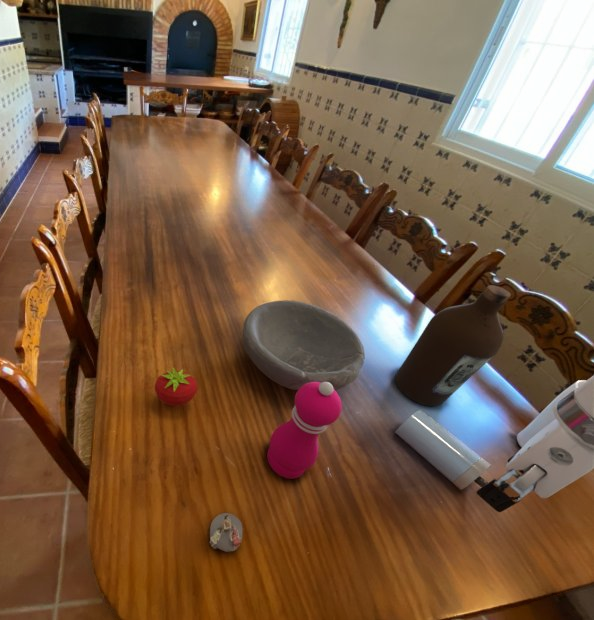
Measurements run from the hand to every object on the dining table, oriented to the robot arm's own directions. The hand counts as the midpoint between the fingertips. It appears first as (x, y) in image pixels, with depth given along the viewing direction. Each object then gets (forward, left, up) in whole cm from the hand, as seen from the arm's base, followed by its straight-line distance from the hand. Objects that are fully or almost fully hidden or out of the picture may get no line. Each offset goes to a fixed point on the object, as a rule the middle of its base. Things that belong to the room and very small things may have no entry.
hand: (503, 484), depth 53 cm
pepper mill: (+20, +23, -5) cm, 31 cm away
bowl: (+35, +7, -5) cm, 36 cm away
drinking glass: (0, -19, -5) cm, 20 cm away
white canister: (+14, 0, -2) cm, 14 cm away
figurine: (+16, +39, -5) cm, 43 cm away
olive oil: (+18, -13, -5) cm, 23 cm away
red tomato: (+38, +34, -5) cm, 51 cm away
